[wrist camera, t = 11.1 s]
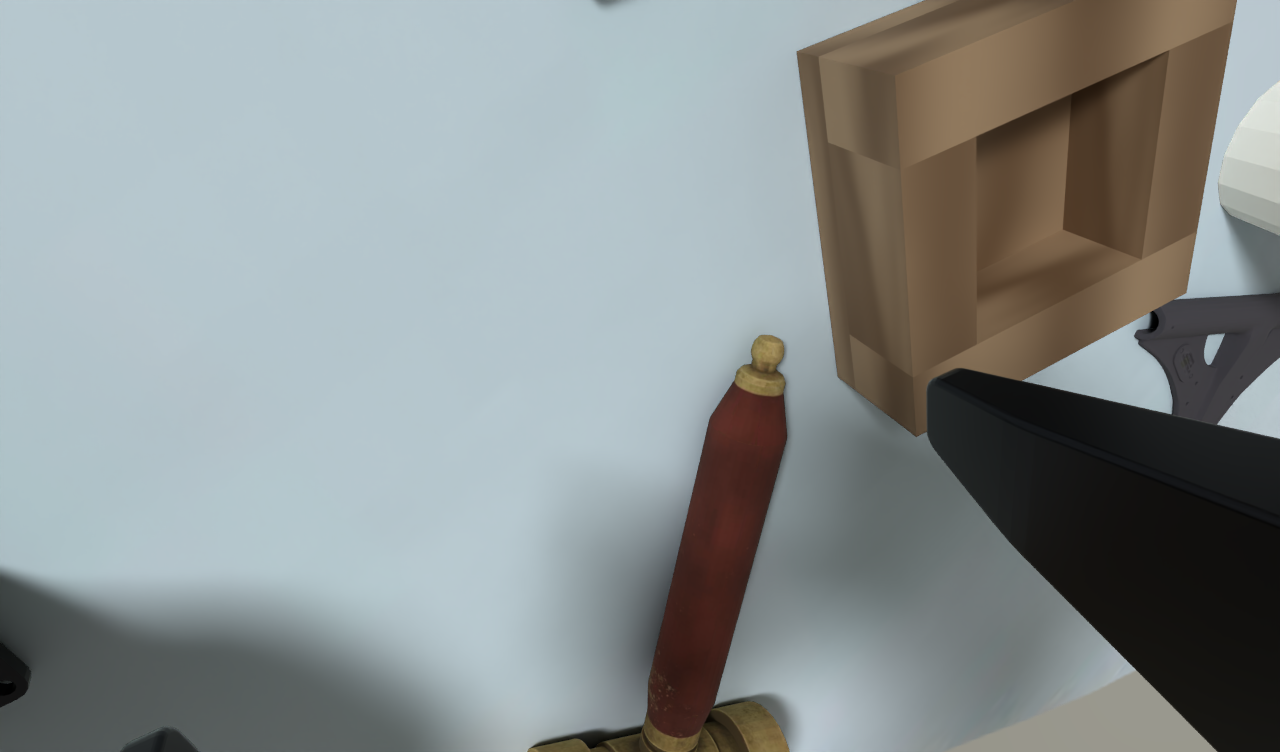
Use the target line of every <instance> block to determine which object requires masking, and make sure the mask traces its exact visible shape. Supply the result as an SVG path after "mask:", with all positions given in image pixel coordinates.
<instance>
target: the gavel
mask: <svg viewBox="0 0 1280 752" xmlns="http://www.w3.org/2000/svg"><path fill="white" fill-rule="evenodd" d="M751 355H752V358H753V360H752V364H747V365H743V366H742V367H740V368H739V369H738V370H737V372H736V376H735V380H734V382H733V383H732V385H731V386H730V388H729V389H728V391H727V392H726V394H725V395H724V397H723V398H722V400H721V402H720V403H719V405H718V406H717V408H716V409H715V411H714V412H713V414H712V415H711V417H710V420H709V424H708V428H707V432H706V437H705V441H704V445H703V449H702V454H701V458H700V462H699V467H698V471H697V475H696V479H695V484H694V488H693V492H692V497H691V501H690V505H689V509H688V514H687V518H686V522H685V527H684V531H683V535H682V539H681V544H680V548H679V552H678V556H677V561H676V565H675V569H674V574H673V578H672V582H671V586H670V591H669V595H668V599H667V604H666V608H665V612H664V616H663V621H662V625H661V629H660V634H659V638H658V642H657V646H656V651H655V655H654V659H653V663H652V668H651V672H650V676H649V681H648V709H647V714H646V718H645V722H644V726H643V728H642V732H641V733H639V734H635V735H630V736H626V737H621V738H617V739H612V740H608V741H603V742H600V743H599V744H598V745H597V746H596V747H595V748H592V749H589V748H588V747H587V745H586V744H585V743H584V742H583V741H581V740H580V739H571V740H566V741H562V742H557V743H552V744H548V745H543V746H539V747H534V748H530V749H529V750H528V751H527V752H790V751H789V748H788V745H787V742H786V740H785V737H784V735H783V733H782V731H781V729H780V727H779V726H778V724H777V723H776V721H775V719H774V718H773V717H772V715H771V714H770V713H769V712H768V711H767V710H766V709H765V708H764V707H763V706H761V705H760V704H758V703H756V702H751V701H747V702H742V703H737V704H733V705H728V706H724V707H719V708H714V709H712V707H713V705H714V703H715V700H716V696H717V692H718V689H719V685H720V681H721V678H722V674H723V671H724V667H725V663H726V660H727V656H728V652H729V649H730V645H731V641H732V638H733V634H734V630H735V627H736V623H737V619H738V616H739V612H740V608H741V605H742V601H743V597H744V594H745V590H746V586H747V583H748V579H749V575H750V572H751V568H752V564H753V561H754V557H755V553H756V550H757V546H758V543H759V539H760V535H761V532H762V528H763V524H764V521H765V517H766V513H767V510H768V506H769V502H770V499H771V495H772V491H773V488H774V484H775V480H776V477H777V473H778V469H779V466H780V462H781V458H782V455H783V451H784V447H785V444H786V440H787V428H786V417H785V405H784V393H783V391H784V387H785V380H784V377H783V375H782V374H781V373H780V372H778V371H777V370H776V367H777V365H778V364H779V363H780V362H781V360H782V358H783V355H784V345H783V342H782V340H780V339H779V338H776V337H774V336H772V335H760V336H759V337H758V338H757V339H756V340H755V341H754V343H753V345H752V349H751Z"/></svg>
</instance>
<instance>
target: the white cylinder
mask: <svg viewBox="0 0 1280 752" xmlns="http://www.w3.org/2000/svg"><path fill="white" fill-rule="evenodd" d="M1218 189H1219V198H1220V204H1221V205H1222V206H1223V207H1224V209H1225V210H1226V211H1227V212H1228V213H1229V215H1231V216H1233V217H1236V218H1238V219H1241V220H1243V221H1245V222H1248V223H1250V224H1253V225H1255V226H1258V227H1260V228H1262V229H1265V230H1267V231H1270V232H1272V233H1275V234H1277V235H1279V236H1280V80H1279V81H1278V82H1277V83H1276V84H1275V85H1273V86H1272V87H1271V88H1270V89H1269V90H1268V91H1267V92H1265V93H1264V94H1263V95H1262V96H1261V97H1260V98H1259V99H1257V101H1256V102H1255V104H1254V105H1253V106H1252V108H1251V109H1250V110H1249V112H1248V113H1247V114H1246V116H1245V117H1244V118H1243V120H1242V121H1241V123H1240V124H1239V125H1238V127H1237V129H1236V131H1235V133H1234V135H1233V137H1232V140H1231V142H1230V144H1229V146H1228V148H1227V150H1226V152H1225V154H1224V158H1223V162H1222V166H1221V171H1220V175H1219V180H1218Z"/></svg>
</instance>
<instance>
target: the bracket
mask: <svg viewBox="0 0 1280 752" xmlns="http://www.w3.org/2000/svg"><path fill="white" fill-rule="evenodd" d="M1153 311H1154V312H1155V313H1156V314H1157V316H1158V319H1159V325H1158V327H1157V328H1153V329H1143V330H1137V331H1136V333H1135V335H1134V336H1135V337H1136V338H1138V339H1140V340H1139V342H1138V344H1139V345H1140V346H1141V347H1143V348H1144V349H1146V350H1147V351H1148V352H1149V353H1151V354H1152V355H1153V356H1154V357H1155V358H1156V359H1157V360H1158V362H1159V363H1160V365H1161V366H1162V368H1163V369H1164V371H1165V374H1166V376H1167V378H1168V381H1169V384H1170V388H1171V392H1172V396H1173V415H1176V416H1180V417H1185V418H1189V419H1194V420H1198V421H1203V422H1207V423H1212V424H1216V425H1217V423H1218V422H1219V421H1220V419H1221V418H1222V417H1223V415H1224V414H1225V413H1226V412H1227V410H1228V409H1229V408H1230V407H1231V405H1232V404H1233V403H1234V401H1235V400H1236V399H1237V398H1238V397H1239V395H1240V394H1241V393H1242V392H1243V391H1244V390H1245V389H1246V388H1247V387H1248V386H1249V385H1250V384H1251V383H1252V382H1253V381H1254V380H1255V379H1256V378H1257V377H1258V376H1259V375H1261V374H1262V373H1263V372H1264V371H1265V370H1266V369H1267V368H1268V367H1269V366H1270V365H1271V364H1273V363H1274V362H1275V361H1276V360H1277V359H1279V358H1280V293H1275V294H1259V295H1242V296H1226V297H1210V298H1194V299H1177V300H1172V301H1170V302H1168V303H1166V304H1164V305H1163V306H1161V307H1159V308H1157V309H1155V310H1153ZM1221 333H1225V336H1224V338H1223V340H1222V343H1221V345H1220V347H1219V349H1218V351H1217V353H1216V356H1215V358H1214V360H1213V362H1212V364H1211V365H1207V364H1206V362H1205V359H1204V348H1205V343H1206V339H1207V336H1208V335H1210V334H1221Z"/></svg>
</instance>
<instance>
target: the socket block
mask: <svg viewBox="0 0 1280 752" xmlns="http://www.w3.org/2000/svg"><path fill="white" fill-rule="evenodd" d="M1236 3H1237V0H925V1H922V2H920V3H917V4H915V5H912V6H910V7H907V8H905V9H902V10H900V11H897V12H895V13H892V14H890V15H887V16H885V17H882V18H880V19H877V20H875V21H872V22H869V23H867V24H864V25H862V26H859V27H857V28H854V29H852V30H849V31H847V32H844V33H842V34H839V35H837V36H834V37H832V38H829V39H827V40H824V41H822V42H819V43H817V44H814V45H812V46H809V47H807V48H804V49H802V50H799V51H797V58H798V65H799V73H800V81H801V89H802V97H803V105H804V113H805V121H806V129H807V137H808V144H809V152H810V160H811V168H812V176H813V184H814V192H815V200H816V208H817V216H818V223H819V231H820V239H821V247H822V255H823V263H824V271H825V279H826V287H827V295H828V302H829V310H830V318H831V326H832V334H833V342H834V350H835V358H836V366H837V374H838V377H839V378H840V379H841V380H843V381H844V382H845V383H847V384H848V385H849V386H851V387H852V388H853V389H854V390H856V391H857V392H858V393H860V394H861V395H862V396H864V397H865V398H866V399H867V400H869V401H870V402H871V403H873V404H874V405H875V406H877V407H878V408H879V409H881V410H882V411H883V412H884V413H886V414H887V415H888V416H890V417H891V418H892V419H894V420H895V421H896V422H898V423H899V424H900V425H901V426H903V427H904V428H905V429H907V430H908V431H909V432H911V433H912V434H913V435H914V436H916V437H917V436H919V435H921V434H923V433H925V432H927V415H926V388H927V385H928V383H929V381H930V380H931V379H933V378H935V377H937V376H939V375H941V374H944V373H946V372H948V371H950V370H952V369H956V368H965V369H970V370H975V371H979V372H984V373H988V374H992V375H997V376H1001V377H1006V378H1010V379H1015V380H1019V381H1022V380H1024V379H1026V378H1028V377H1030V376H1031V375H1033V374H1035V373H1037V372H1039V371H1041V370H1043V369H1045V368H1046V367H1048V366H1050V365H1052V364H1054V363H1056V362H1058V361H1060V360H1061V359H1063V358H1065V357H1067V356H1069V355H1071V354H1073V353H1075V352H1076V351H1078V350H1080V349H1082V348H1084V347H1086V346H1088V345H1090V344H1091V343H1093V342H1095V341H1097V340H1099V339H1101V338H1103V337H1105V336H1106V335H1108V334H1110V333H1112V332H1114V331H1116V330H1118V329H1120V328H1121V327H1123V326H1125V325H1127V324H1129V323H1131V322H1133V321H1135V320H1136V319H1138V318H1140V317H1142V316H1144V315H1146V314H1148V313H1149V312H1151V311H1153V310H1155V309H1157V308H1159V307H1161V306H1163V305H1164V304H1166V303H1168V302H1170V301H1172V300H1174V299H1176V298H1178V297H1179V296H1181V295H1183V294H1185V293H1186V291H1187V285H1188V280H1189V274H1190V268H1191V262H1192V257H1193V251H1194V245H1195V239H1196V234H1197V228H1198V222H1199V216H1200V210H1201V205H1202V199H1203V193H1204V187H1205V182H1206V176H1207V170H1208V164H1209V159H1210V153H1211V147H1212V141H1213V135H1214V130H1215V124H1216V118H1217V112H1218V107H1219V101H1220V95H1221V89H1222V84H1223V78H1224V72H1225V66H1226V60H1227V55H1228V49H1229V43H1230V37H1231V32H1232V26H1233V20H1234V14H1235V9H1236Z"/></svg>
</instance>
